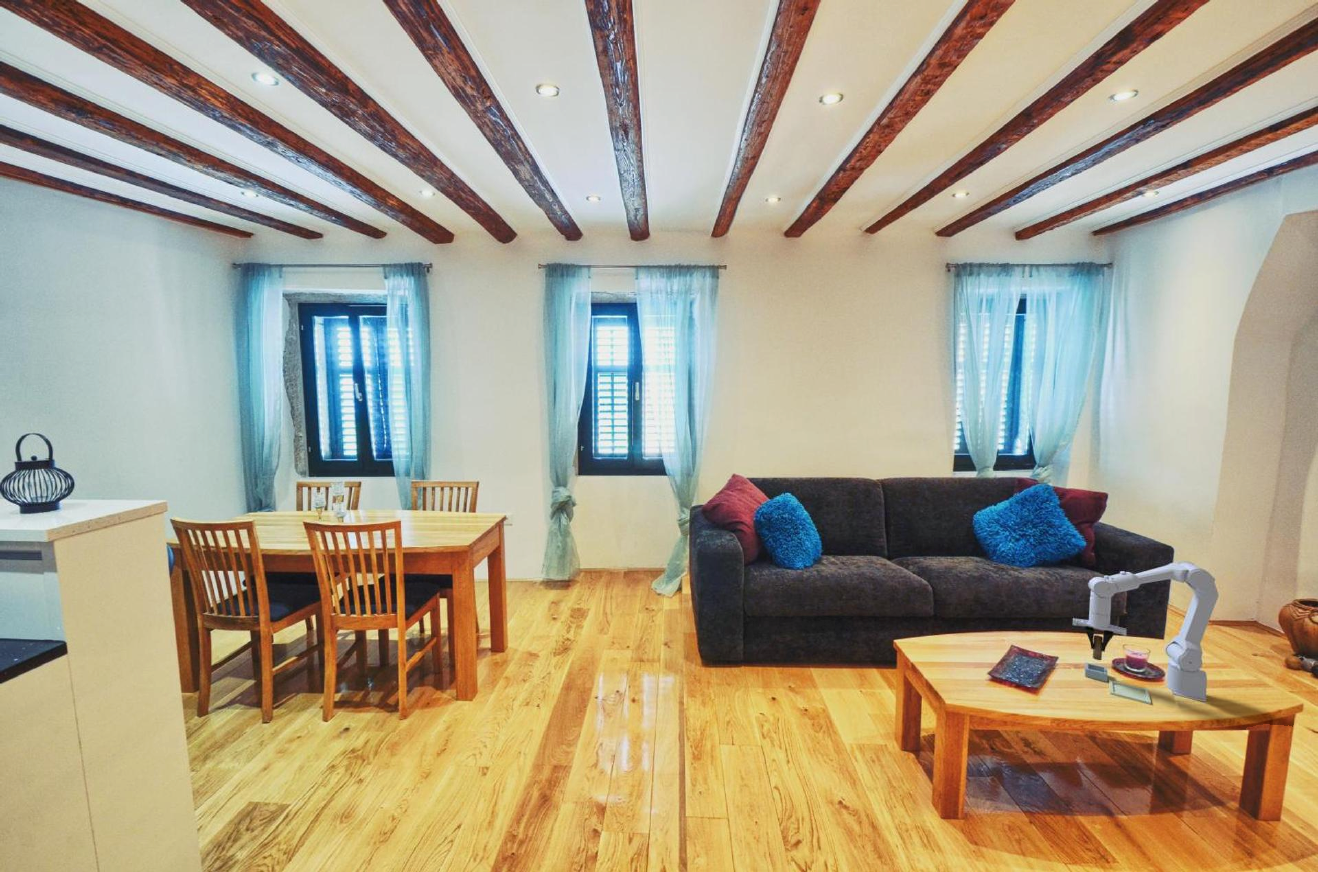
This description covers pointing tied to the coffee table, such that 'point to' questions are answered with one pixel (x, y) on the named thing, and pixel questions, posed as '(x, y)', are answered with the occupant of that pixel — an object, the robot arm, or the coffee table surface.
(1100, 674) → the grey open box
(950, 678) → the coffee table surface
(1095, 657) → the dowel
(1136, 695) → the tray
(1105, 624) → the robot arm
